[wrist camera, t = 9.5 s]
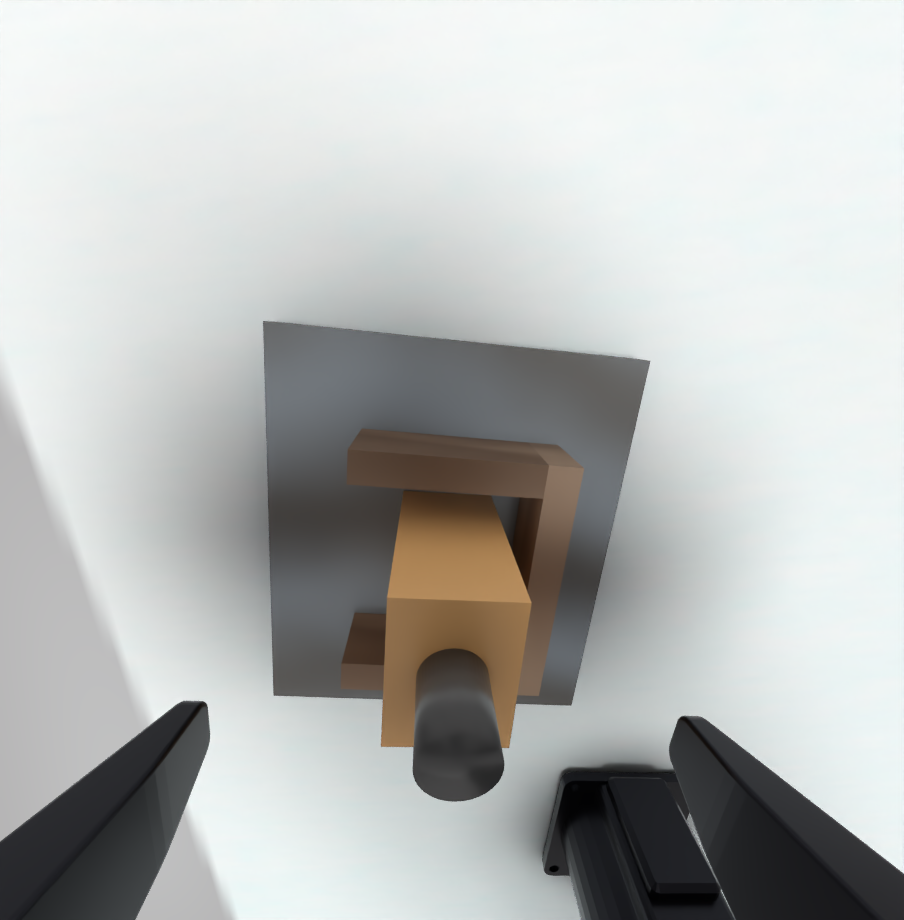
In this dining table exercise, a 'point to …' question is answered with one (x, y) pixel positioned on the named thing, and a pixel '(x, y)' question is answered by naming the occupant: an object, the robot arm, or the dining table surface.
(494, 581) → the connector plug
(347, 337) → the end holder
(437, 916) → the dining table surface
